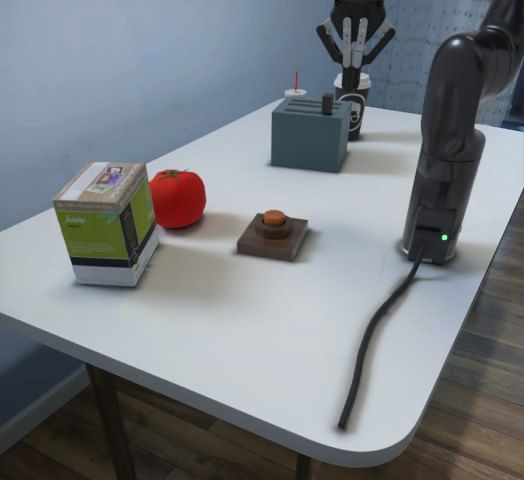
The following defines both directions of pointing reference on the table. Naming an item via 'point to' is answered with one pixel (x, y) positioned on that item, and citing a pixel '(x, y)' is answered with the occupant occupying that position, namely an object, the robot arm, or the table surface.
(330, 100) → the slider
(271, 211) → the button
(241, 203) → the table surface
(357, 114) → the coffee cup
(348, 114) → the toaster
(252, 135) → the table surface
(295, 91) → the beverage cup
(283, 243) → the block
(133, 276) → the tea box
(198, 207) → the tomato
